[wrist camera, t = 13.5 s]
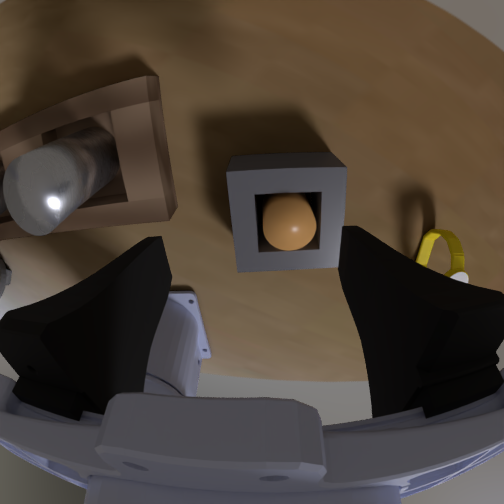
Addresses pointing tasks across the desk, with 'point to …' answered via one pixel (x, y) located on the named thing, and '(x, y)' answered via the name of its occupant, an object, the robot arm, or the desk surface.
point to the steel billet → (59, 178)
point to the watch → (455, 250)
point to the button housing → (286, 181)
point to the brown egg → (288, 220)
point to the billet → (0, 201)
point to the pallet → (128, 146)
